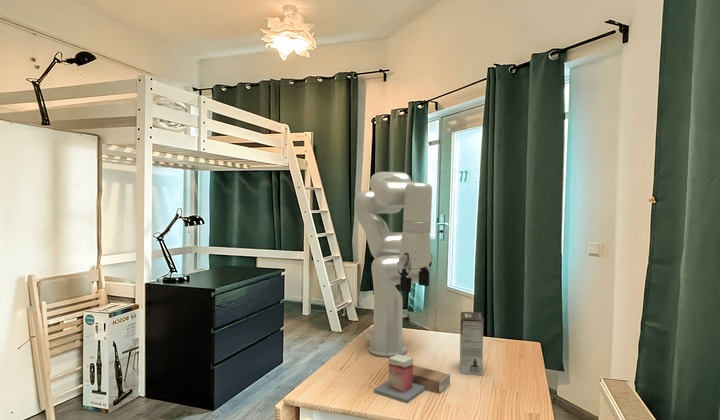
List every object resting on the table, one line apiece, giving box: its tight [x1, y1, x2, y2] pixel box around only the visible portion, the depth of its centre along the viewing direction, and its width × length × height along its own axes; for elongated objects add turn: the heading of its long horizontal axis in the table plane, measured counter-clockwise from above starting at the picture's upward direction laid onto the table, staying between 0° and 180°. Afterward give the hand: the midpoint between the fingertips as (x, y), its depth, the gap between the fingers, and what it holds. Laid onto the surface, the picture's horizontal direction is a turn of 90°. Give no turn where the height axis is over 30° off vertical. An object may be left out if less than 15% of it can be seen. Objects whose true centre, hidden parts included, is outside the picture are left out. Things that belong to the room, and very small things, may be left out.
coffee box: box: [459, 311, 484, 376], centre depth 130 cm, size 9×6×16 cm
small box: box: [388, 354, 414, 392], centre depth 114 cm, size 5×4×8 cm
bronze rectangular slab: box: [412, 364, 451, 394], centre depth 119 cm, size 12×6×3 cm, turn 54°
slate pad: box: [373, 379, 427, 404], centre depth 114 cm, size 10×10×1 cm
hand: (414, 288), depth 122 cm, fingers open, 9 cm apart
